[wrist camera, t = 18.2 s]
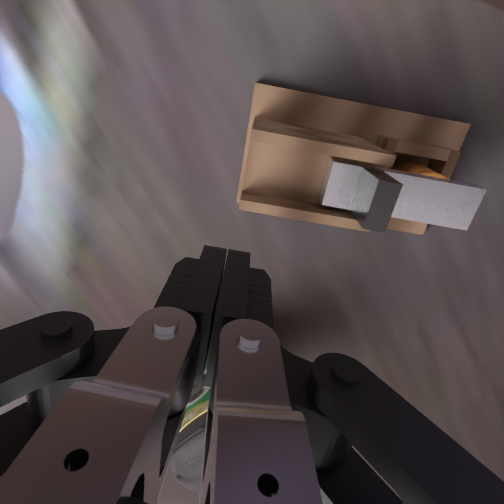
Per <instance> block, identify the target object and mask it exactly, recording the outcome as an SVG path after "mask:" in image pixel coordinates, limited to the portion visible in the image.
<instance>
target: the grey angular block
mask: <svg viewBox="0 0 504 504" xmlns="http://www.w3.org/2000/svg"><path fill="white" fill-rule="evenodd" d="M485 192H486V189H484V188H482V187H480V186H477V185H475V184H470V183H465V182H459V181H454V180H448V179H443V178H437V177H432V176H427V175H421V174H416V173H410V172H405V171H399V170H394V169H388V168H383V167H377V166H372V165H366V164H361V163H355V162H350V161H345V160H339V159H334V158H330V159H329V163H328V166H327V170H326V174H325V178H324V181H323V185H322V189H321V192H320V196H319V200H320V202H321V204H322V205H325V206H331V207H336V208H342V209H348V210H349V211H350V212H351V213H352V215H353V216H354V218H355V219H356V220H357V222H358V223H359V225H360V226H361V227H362V229H367V230H373V231H379V232H384V233H385V231H386V229H387V226H388V223H389V221H390V218H391V217H393V218H399V219H405V220H410V221H416V222H422V223H427V224H433V225H439V226H445V227H450V228H456V229H462V230H467V229H468V227H469V225H470V223H471V221H472V219H473V217H474V215H475V213H476V211H477V209H478V207H479V205H480V203H481V201H482V199H483V197H484V195H485Z"/></svg>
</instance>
